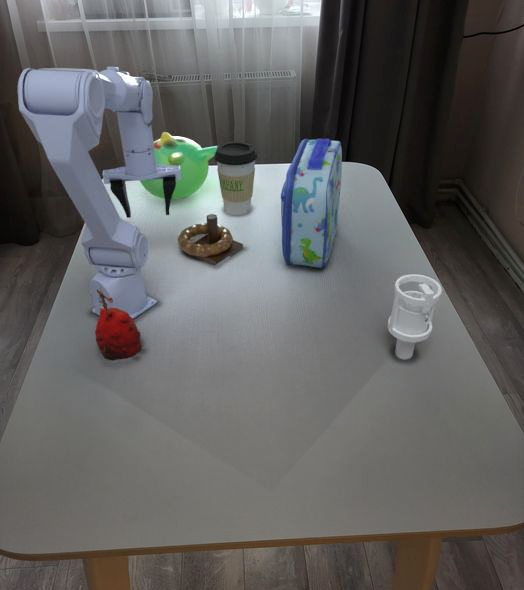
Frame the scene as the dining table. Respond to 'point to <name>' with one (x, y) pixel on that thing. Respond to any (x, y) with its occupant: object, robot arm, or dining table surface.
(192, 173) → the toy bird
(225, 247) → the ring
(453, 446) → the dining table surface
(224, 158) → the coffee cup
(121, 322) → the red rounded lump
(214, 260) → the post
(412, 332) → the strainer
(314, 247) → the lunch box
